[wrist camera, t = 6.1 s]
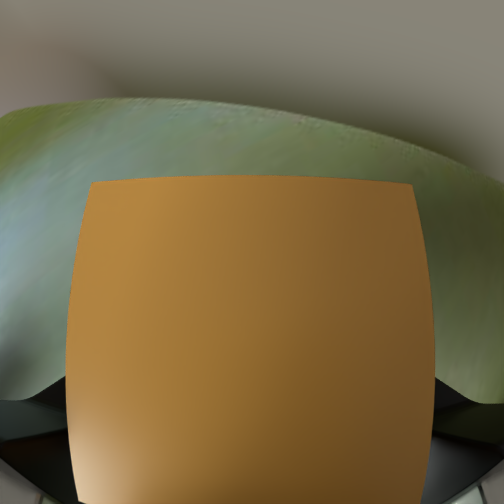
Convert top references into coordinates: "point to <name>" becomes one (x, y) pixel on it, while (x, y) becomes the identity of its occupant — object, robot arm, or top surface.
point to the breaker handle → (250, 342)
